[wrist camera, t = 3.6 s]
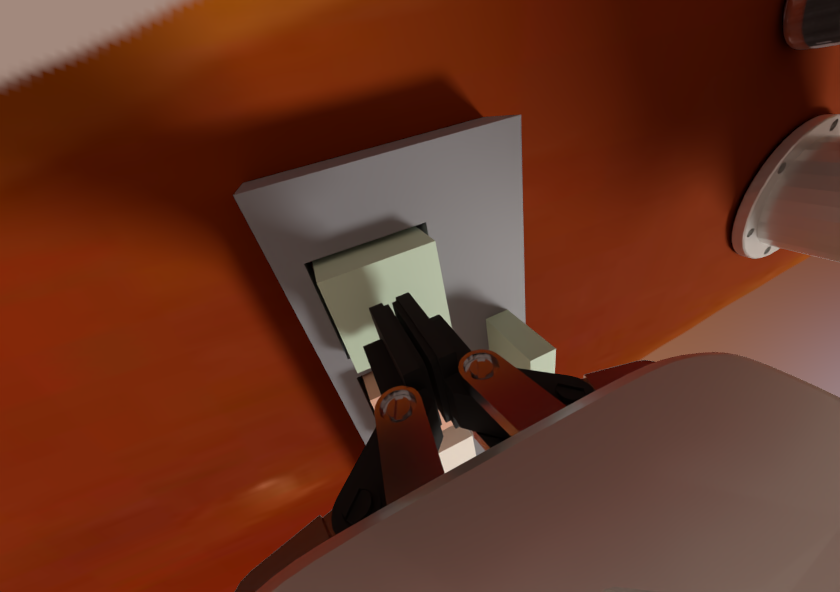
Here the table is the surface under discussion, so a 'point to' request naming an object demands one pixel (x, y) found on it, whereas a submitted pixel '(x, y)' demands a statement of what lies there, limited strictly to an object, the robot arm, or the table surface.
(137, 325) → the table surface
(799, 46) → the supplement bottle
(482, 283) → the panel
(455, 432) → the cream block
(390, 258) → the sage block
